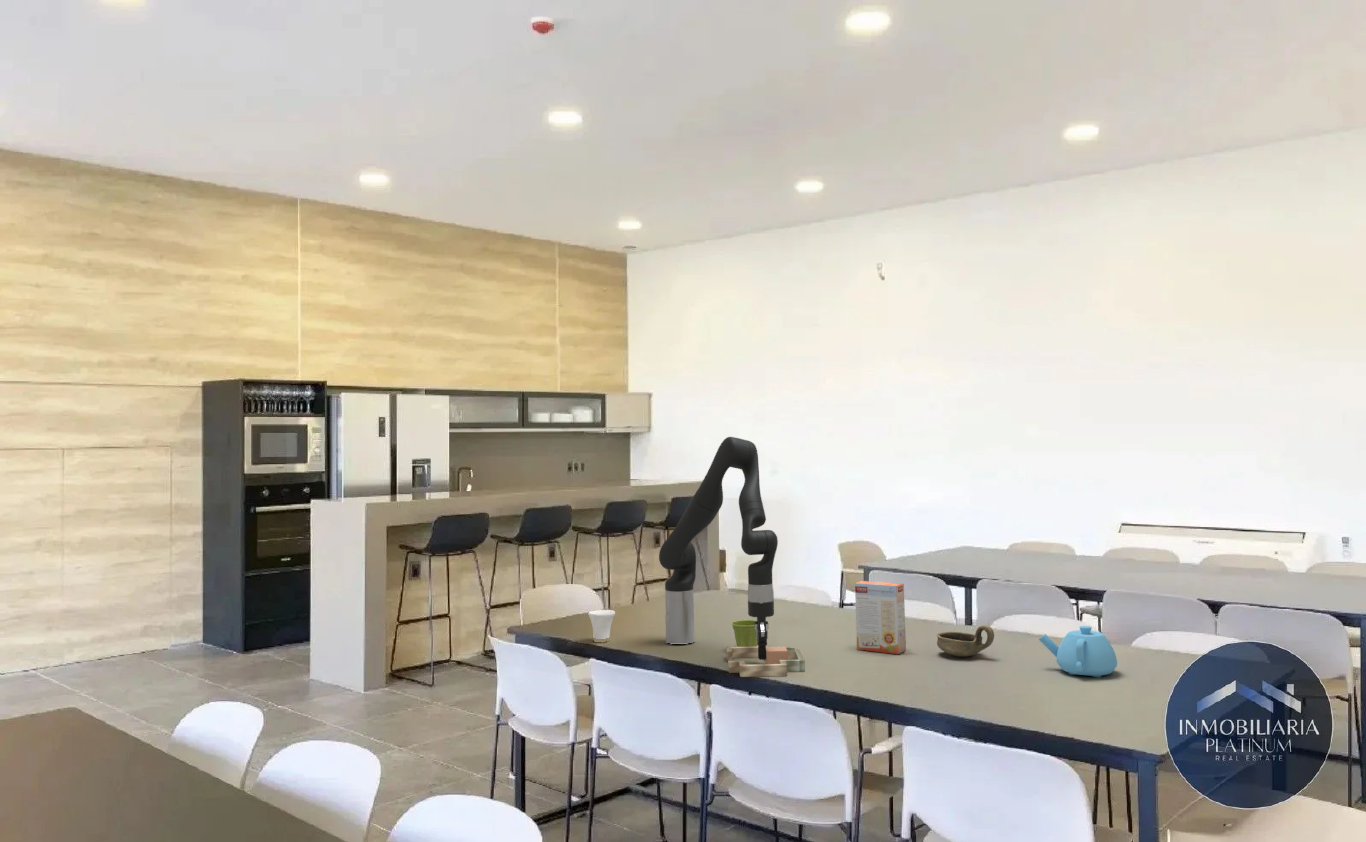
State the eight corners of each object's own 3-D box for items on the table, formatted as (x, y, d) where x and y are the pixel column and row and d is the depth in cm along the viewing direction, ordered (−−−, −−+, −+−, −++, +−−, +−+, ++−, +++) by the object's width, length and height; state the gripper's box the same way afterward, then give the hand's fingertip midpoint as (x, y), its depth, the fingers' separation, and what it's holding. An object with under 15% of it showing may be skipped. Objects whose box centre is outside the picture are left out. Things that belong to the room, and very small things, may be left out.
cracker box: (906, 651, 298) (904, 582, 299) (898, 655, 293) (896, 585, 294) (865, 646, 307) (863, 579, 307) (856, 650, 302) (854, 582, 302)
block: (767, 668, 281) (766, 651, 281) (765, 664, 287) (765, 646, 287) (788, 668, 281) (787, 650, 281) (785, 663, 287) (785, 646, 287)
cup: (583, 643, 321) (583, 613, 321) (596, 638, 329) (595, 608, 330) (607, 645, 317) (607, 614, 318) (620, 639, 326) (619, 609, 326)
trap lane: (729, 677, 271) (729, 663, 271) (726, 657, 296) (726, 644, 296) (806, 675, 271) (806, 661, 271) (797, 655, 296) (797, 643, 296)
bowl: (949, 648, 301) (948, 616, 301) (1003, 656, 289) (1002, 622, 289) (927, 656, 291) (926, 623, 291) (982, 665, 279) (981, 630, 279)
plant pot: (741, 655, 298) (741, 626, 298) (726, 649, 307) (725, 622, 307) (767, 651, 303) (767, 623, 303) (751, 646, 311) (751, 618, 311)
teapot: (1111, 684, 254) (1109, 635, 255) (1031, 675, 265) (1030, 629, 265) (1122, 668, 271) (1121, 622, 271) (1047, 660, 282) (1046, 616, 282)
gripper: (746, 595, 291) (748, 654, 290) (748, 603, 277) (750, 664, 277) (772, 595, 291) (773, 653, 290) (775, 602, 277) (777, 664, 277)
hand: (762, 659), depth 284 cm, fingers closed
